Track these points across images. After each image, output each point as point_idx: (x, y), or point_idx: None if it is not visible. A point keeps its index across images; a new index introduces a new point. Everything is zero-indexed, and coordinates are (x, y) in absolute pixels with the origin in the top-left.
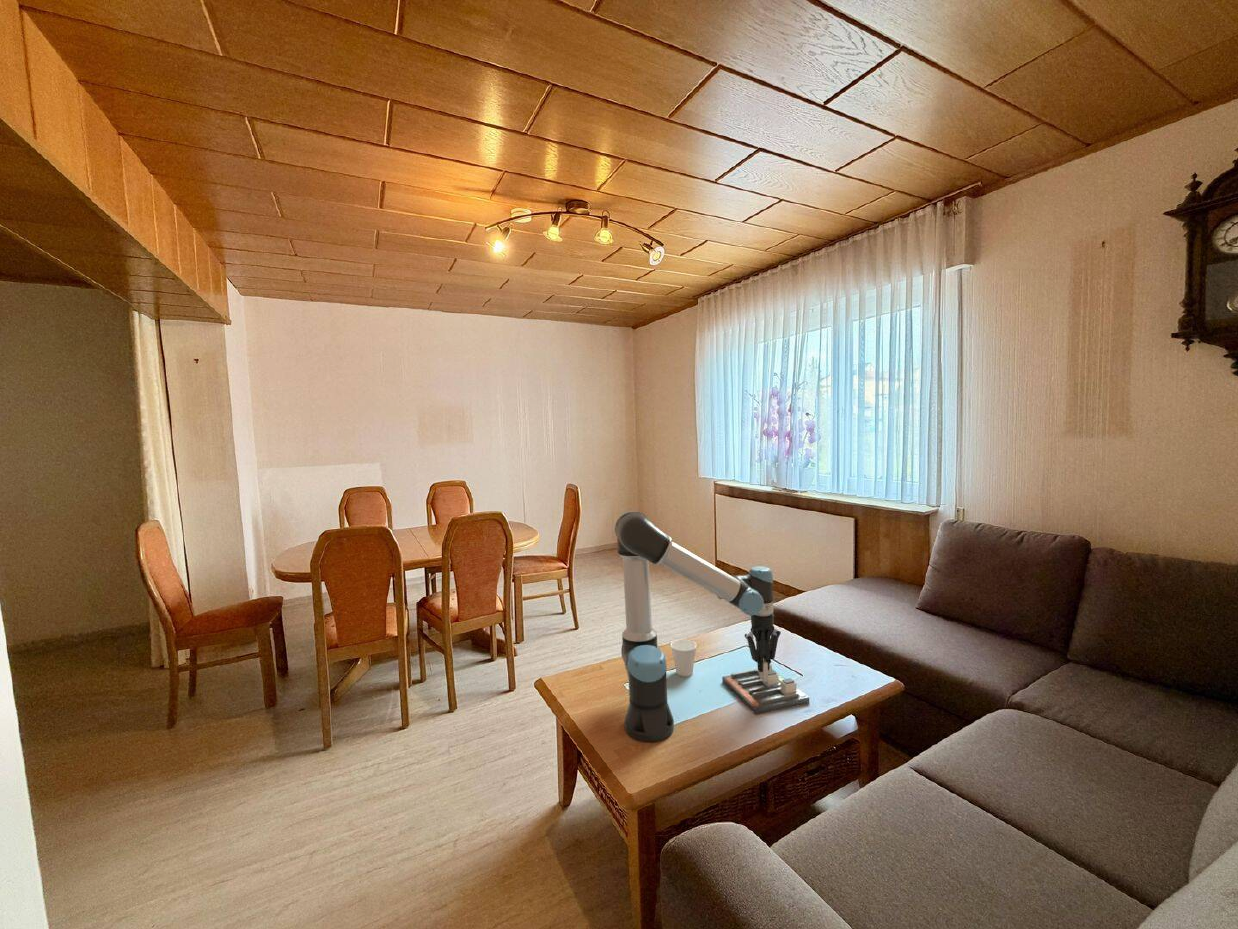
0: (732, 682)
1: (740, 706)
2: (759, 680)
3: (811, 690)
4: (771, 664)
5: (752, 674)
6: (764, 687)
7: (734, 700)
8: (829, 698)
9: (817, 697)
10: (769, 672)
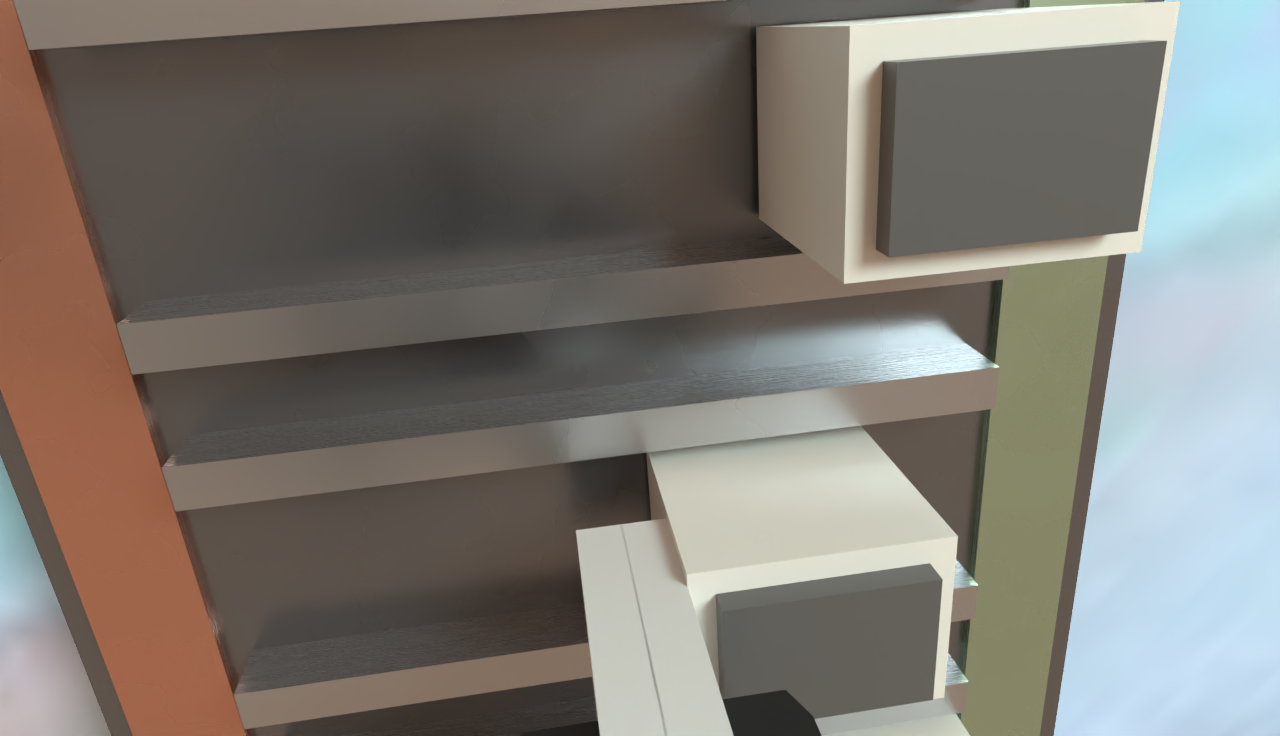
0: (6, 272)
1: (81, 732)
2: (586, 450)
3: (1239, 540)
4: (1130, 250)
5: (626, 11)
6: (554, 679)
7: (20, 586)
8: (1266, 719)
9: (1171, 685)
10: (802, 665)
